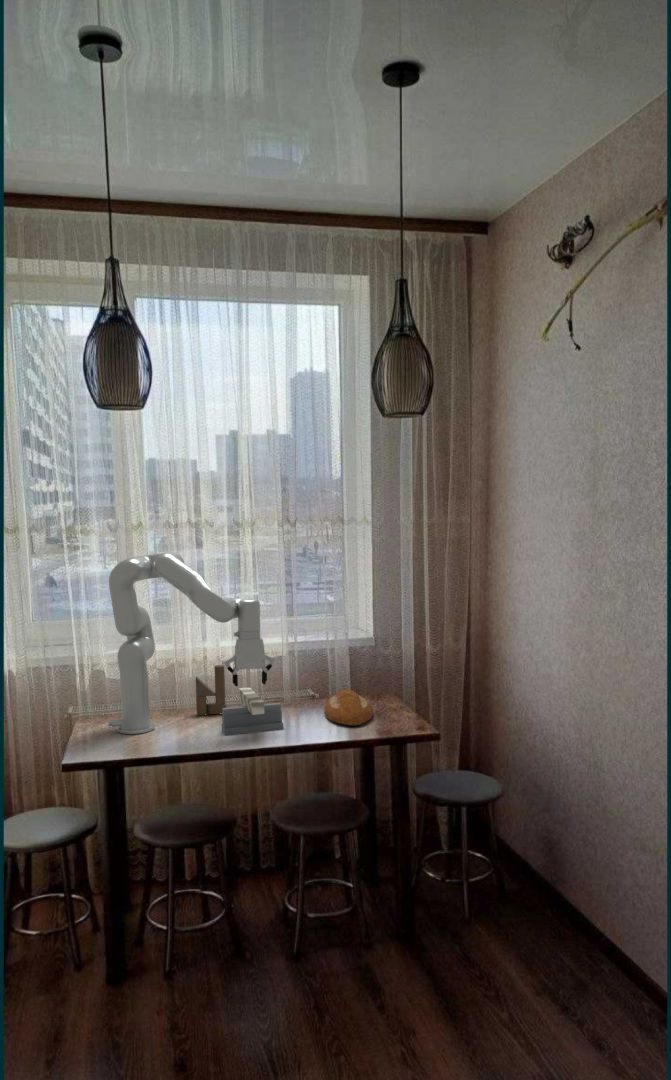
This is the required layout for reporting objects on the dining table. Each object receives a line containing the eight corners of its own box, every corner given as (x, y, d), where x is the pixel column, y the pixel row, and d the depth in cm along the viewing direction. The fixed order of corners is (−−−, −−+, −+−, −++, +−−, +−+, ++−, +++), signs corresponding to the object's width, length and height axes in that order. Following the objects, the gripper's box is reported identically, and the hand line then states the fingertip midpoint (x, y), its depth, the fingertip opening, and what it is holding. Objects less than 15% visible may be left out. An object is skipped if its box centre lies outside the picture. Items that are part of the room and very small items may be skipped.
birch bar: (264, 713, 280) (264, 701, 280) (252, 714, 279) (252, 702, 279) (250, 698, 303) (249, 687, 303) (239, 699, 302) (238, 688, 302)
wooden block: (196, 713, 316) (195, 665, 315) (226, 712, 317) (224, 664, 316) (196, 716, 312) (195, 667, 311) (226, 714, 313) (224, 666, 313)
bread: (367, 703, 326) (366, 680, 325) (378, 727, 290) (377, 701, 290) (321, 705, 324) (320, 682, 324) (327, 730, 289) (326, 704, 289)
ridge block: (225, 735, 285) (224, 711, 285) (221, 729, 292) (220, 706, 292) (283, 729, 291) (282, 706, 290) (278, 723, 298) (277, 701, 298)
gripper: (225, 638, 284) (226, 688, 285) (276, 635, 289) (276, 685, 290) (222, 634, 291) (223, 684, 292) (271, 632, 296) (272, 680, 297)
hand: (249, 684), depth 291 cm, fingers open, 9 cm apart
